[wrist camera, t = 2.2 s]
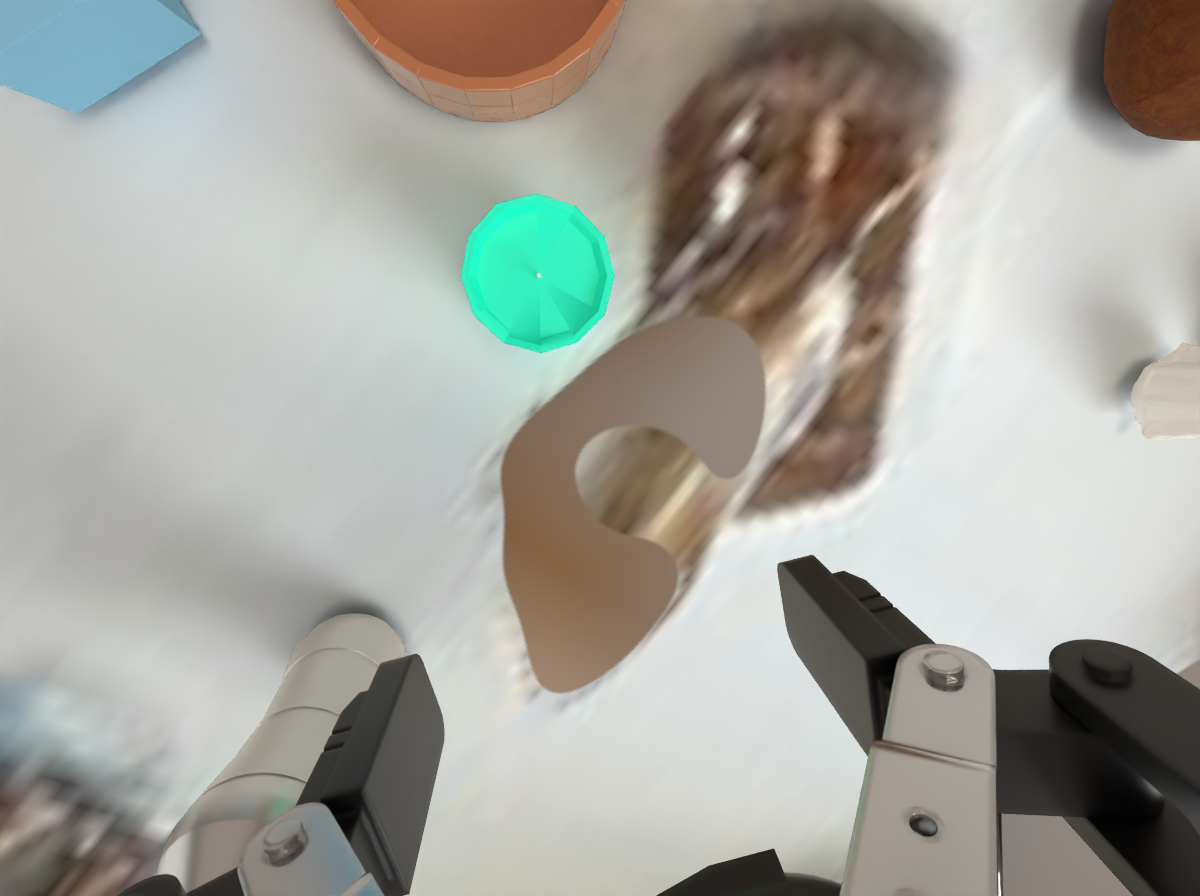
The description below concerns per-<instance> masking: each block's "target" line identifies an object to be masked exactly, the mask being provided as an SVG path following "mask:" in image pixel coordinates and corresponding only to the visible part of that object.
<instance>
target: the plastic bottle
mask: <svg viewBox="0 0 1200 896" xmlns="http://www.w3.org/2000/svg"><path fill="white" fill-rule="evenodd" d="M405 656H406V655H405V647H404V644H403V641H402V639H401V638H400V636H399V634H398V633H397V632H396V631H395V630H394V629H393V627H391V626H390V625H389V624H388V623H386V622H385V621H383V620H382V619H379V618H377V617H375V616H372V615H368V614H360V613H353V614H343V615H338V616H335V617H332V618H330V619H327V620H325V621H324V622H322V623H321V624H319V625H318V626H317V627H316V628H315V629H313V630H312V631H311V632H310V633H309V634H308V635H307V636H306V637H305V638H304V639H303V640H302V641H301V642H300V643H299V644H298V646H297V647H296V649H295V650H294V652H293V654H292V657H291V659H290V661H289V663H288V665H287V668H286V671H285V673H284V676H283V680H282V683H281V685H280V687H279V689H278V691H277V693H276V695H275V697H274V699H273V701H272V703H271V705H270V707H269V709H268V710H267V712H266V714H265V716H264V718H263V720H262V721H261V722H260V724H259V725H258V726H257V728H256V729H255V731H254V732H253V733H252V734H251V736H250V737H249V739H248V740H247V741H246V743H245V744H244V745H243V747H242V748H241V749H240V751H239V752H238V754H237V755H236V756H235V758H234V759H233V760H232V761H231V762H230V763H229V764H228V765H227V767H226V768H225V769H224V770H223V771H222V772H221V773H220V774H219V775H218V777H217V778H216V779H215V780H214V781H213V782H212V783H211V784H210V786H209V787H208V788H207V789H206V790H205V791H204V792H203V793H202V795H201V796H200V797H199V798H198V799H197V800H196V802H195V803H194V804H193V805H192V806H191V807H190V808H189V809H188V811H187V812H186V813H185V814H184V816H183V817H182V818H181V820H180V821H179V822H178V823H177V825H176V826H175V828H174V829H173V831H172V832H171V834H170V835H169V837H168V840H167V843H166V845H165V848H164V851H163V854H162V857H161V860H160V863H159V866H158V869H157V875H161V874H170V875H174V876H175V877H177V878H178V880H179V881H180V883H181V885H182V886H183V888H184V890H185V892H186V893H188V892H190V891H192V890H194V889H196V888H198V887H199V886H201V885H203V884H205V883H207V882H209V881H211V880H213V879H215V878H217V877H219V876H221V875H223V874H225V873H227V872H229V871H231V870H233V869H234V868H236V867H238V863H239V860H240V857H241V855H242V853H243V851H244V849H245V848H246V846H247V845H248V843H249V842H250V841H251V839H252V838H253V837H254V836H255V835H256V834H257V833H258V832H259V831H260V830H261V829H262V828H263V827H264V826H265V825H266V824H267V823H269V822H270V821H271V820H273V819H274V818H275V817H277V816H278V815H280V814H282V813H283V812H285V811H287V810H289V809H291V808H293V807H295V806H296V804H297V802H298V799H299V797H300V795H301V793H302V791H303V789H304V787H305V785H306V783H307V781H308V779H309V777H310V775H311V773H312V771H313V769H314V767H315V765H316V763H317V761H318V759H319V757H320V755H321V753H322V752H324V746H325V744H326V742H327V740H328V738H329V736H331V735H332V730H333V728H334V726H335V724H336V722H337V720H338V718H339V716H340V714H341V712H342V711H343V710H344V709H345V707H346V706H347V705H348V704H349V703H350V702H351V701H352V700H353V699H354V698H355V697H356V696H357V694H358V693H359V692H363V691H367V690H368V689H369V687H370V685H371V682H372V680H373V678H374V676H375V673H376V671H377V669H378V667H379V665H380V664H381V663H382V662H385V661H389V660H393V659H397V658H401V657H405Z"/></svg>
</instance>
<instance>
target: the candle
mask: <svg viewBox="0 0 1200 896" xmlns="http://www.w3.org/2000/svg"><path fill="white" fill-rule="evenodd" d="M461 278H462V281H463V284H464V287H465V290H466V293H467V296H468V299H469V302H470V305H471V309H472V312H473V315H474V316H475V317H476V318H477V319H478V320H479V321H480V322H481V323H482V324H484V325H485V326H486V327H487V328H488V329H489V330H490V331H491V332H492V333H494V334H495V335H496V336H497V337H498V338H499V339H500V340H501V341H502V342H503V343H506V344H510V345H514V346H517V347H521V348H524V349H528V350H532V351H535V352H539V353H543V352H546V351H550V350H553V349H556V348H560V347H563V346H566V345H570V344H573V343H576V342H578V341H579V340H580V339H581V338H582V337H583V336H584V335H585V334H586V333H587V332H588V331H589V330H590V329H591V328H592V327H593V326H594V325H595V324H596V323H597V322H598V321H599V320H600V319H601V318H602V317H603V316H604V315H605V312H606V308H607V304H608V300H609V296H610V292H611V288H612V284H613V280H614V272H613V268H612V264H611V260H610V256H609V252H608V248H607V244H606V240H605V236H604V235H603V234H602V233H601V232H600V231H599V230H598V229H597V228H596V227H595V226H594V225H593V224H592V223H591V222H590V221H589V219H588V218H587V217H586V216H585V215H584V214H583V213H582V212H581V211H580V210H579V209H578V208H577V207H576V206H574V205H570V204H567V203H564V202H561V201H558V200H555V199H551V198H548V197H545V196H542V195H539V194H534V195H530V196H526V197H522V198H518V199H514V200H510V201H506V202H502V203H498V204H496V205H495V206H494V207H493V208H492V210H491V211H490V212H489V213H488V214H487V215H486V216H485V218H484V219H483V220H482V221H481V222H480V223H479V224H478V226H477V227H476V228H475V229H474V230H473V231H472V232H471V233H470V235H469V238H468V243H467V248H466V253H465V258H464V263H463V268H462V272H461Z"/></svg>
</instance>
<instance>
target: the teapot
mask: <svg viewBox="0 0 1200 896" xmlns="http://www.w3.org/2000/svg"><path fill="white" fill-rule="evenodd" d="M199 35H201V32H200V31H199V29H198V28H197V27H196V25H195V24H194V22H193V21H192V19H191V18H190V16H189V15H188V13H187V12H186V10H185V9H184V7H183V6H182V4H181V3H180V1H179V0H0V84H1V85H3V86H6V87H9V88H11V89H14V90H17V91H19V92H22V93H24V94H27V95H30V96H32V97H35V98H38V99H40V100H43V101H45V102H48V103H51V104H53V105H56V106H59V107H61V108H64V109H66V110H69V111H72V112H74V113H77V114H78V113H80V112H81V111H83V110H84V109H86V108H87V107H89V106H91V105H92V104H94V103H95V102H97V101H98V100H100V99H102V98H103V97H105V96H106V95H108V94H111V93H113V92H115V91H116V90H117V89H118V88H119V87H120V86H122V85H123V84H125V83H127V82H128V81H130V80H131V79H133V78H134V77H136V76H137V75H139V74H141V73H142V72H144V71H145V70H147V69H148V68H150V67H151V66H153V65H154V64H156V63H158V62H159V61H161V60H162V59H164V58H165V57H167V56H168V55H170V54H173V53H176V52H177V51H178V50H179V49H180V48H181V47H182V46H184V45H185V44H187V43H189V42H190V41H192V40H193V39H195V38H196V37H198V36H199Z"/></svg>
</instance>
